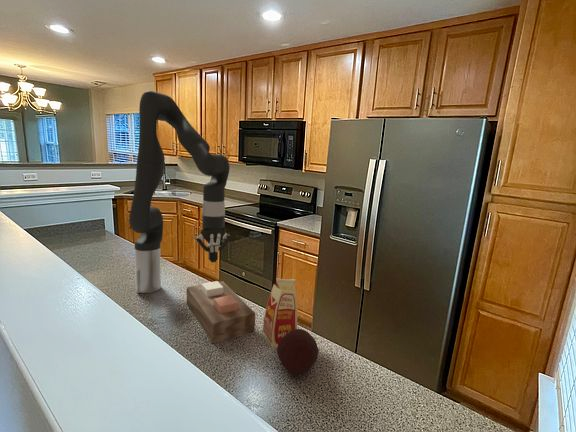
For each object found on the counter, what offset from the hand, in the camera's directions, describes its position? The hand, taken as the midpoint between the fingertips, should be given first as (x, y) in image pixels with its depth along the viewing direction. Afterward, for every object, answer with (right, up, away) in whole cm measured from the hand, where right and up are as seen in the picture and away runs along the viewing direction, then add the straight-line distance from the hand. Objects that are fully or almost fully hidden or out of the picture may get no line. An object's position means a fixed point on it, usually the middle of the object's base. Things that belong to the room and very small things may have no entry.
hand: (212, 261), depth 110 cm
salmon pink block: (+6, -15, -8) cm, 18 cm away
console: (+2, -19, -2) cm, 19 cm away
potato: (+29, -25, -26) cm, 46 cm away
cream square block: (-1, -13, +2) cm, 13 cm away
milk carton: (+24, -22, -11) cm, 35 cm away
